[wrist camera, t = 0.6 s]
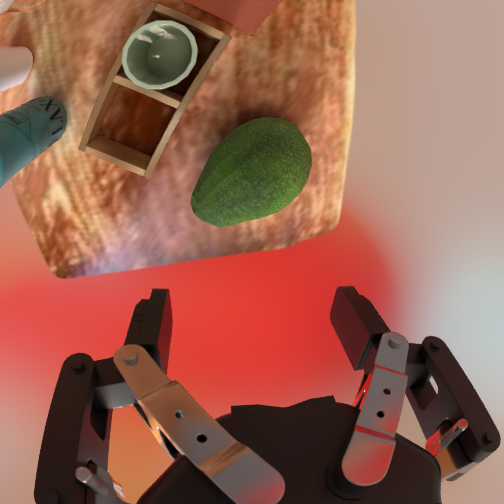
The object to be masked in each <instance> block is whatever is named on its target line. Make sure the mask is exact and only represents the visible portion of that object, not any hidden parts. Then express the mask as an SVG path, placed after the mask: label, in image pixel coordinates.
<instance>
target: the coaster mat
mask: <svg viewBox="0 0 504 504" xmlns="http://www.w3.org/2000/svg"><path fill="white" fill-rule="evenodd" d="M182 2H184V3H186V4H189V5H191V6H193V7H196V8H198V9H200V10H202V11H205V12H207V13H209V14H211V15H213V16H215V17H217V18H219V19H221V20H223V21H225V22H227V23H229V24H231V25H233V26H235V27H237V28H238V29H240V30H242V31H244V32H246V33H247V34H249V35H251V36H253V34H254V33H255V32H256V30H257V29H258V28H259V27H260V25H261V24H262V23H263V21H264V20H265V19H266V18H267V16H268V15H269V14H270V13H271V11H272V10H273V9H274V8H275V6H276V5H277V4H278V3H279V2H280V0H182Z"/></svg>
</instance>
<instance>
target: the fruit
mask: <svg viewBox="0 0 504 504" xmlns="http://www.w3.org/2000/svg"><path fill="white" fill-rule="evenodd" d="M311 165H312V157H311V149H310V147H309V145H308V143H307V141H306V140H305V138H304V136H303V135H302V133H301V132H300V130H299V129H298V127H297V126H295V125H294V124H292V123H290V122H289V121H287V120H285V119H283V118H275V117H263V118H258V119H253V120H250V121H248V122H246V123H244V124H242V125H240V126H238V127H237V128H236V129H234V130H233V131H232V132H231V133H229V134H228V135H227V136H225V137H224V138H223V139H222V140H221V142H220V143H219V144H218V145H217V147H216V148H215V149H214V151H213V152H212V153H211V155H210V157H209V159H208V161H207V163H206V165H205V167H204V169H203V171H202V173H201V175H200V177H199V180H198V182H197V185H196V187H195V189H194V191H193V193H192V197H191V206H192V209H193V213H194V214H195V215H196V216H197V217H198V218H199V219H200V220H201V221H204V222H207V223H209V224H212V225H214V226H217V227H224V226H230V225H234V224H237V223H241V222H246V221H250V220H254V219H259V218H262V217H265V216H268V215H271V214H274V213H276V212H278V211H279V210H281V209H282V208H284V207H285V206H287V205H288V204H290V203H291V202H292V201H293V200H294V199H295V198H296V197H297V196H298V195H299V194H300V193H301V191H302V189H303V187H304V186H305V184H306V182H307V180H308V178H309V173H310V169H311Z"/></svg>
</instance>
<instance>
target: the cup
mask: <svg viewBox="0 0 504 504" xmlns="http://www.w3.org/2000/svg"><path fill="white" fill-rule="evenodd" d="M198 53H199V51H198V47H197V44H196V40H195V37H194V35H193V34H192V33H191V32H190V31H189V30H188V29H187V28H186V27H185V26H184V25H181V24H179V23H177V22H174V21H167V20H157V21H154V22H151V23H148V24H146V25H143V26H141V27H140V28H139V29H138V30H137V31H135V32H134V33H133V34H132V35H131V36H130V37H129V39H128V41H127V43H126V44H125V46H124V48H123V55H122V64H123V67H124V71H125V74H126V75H127V76H128V77H129V78H130V79H131V80H132V81H133V83H135V84H136V85H139V86H141V87H144V88H146V89H164V88H167V87H170V86H173V85H176V84H177V83H179V82H180V81H181V80H182V79H184V78H185V77H186V76H188V74H189V73H190V72H191V71H192V69H193V68H194V66H195V64H196V63H197V59H198Z"/></svg>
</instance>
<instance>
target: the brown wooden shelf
mask: <svg viewBox="0 0 504 504" xmlns="http://www.w3.org/2000/svg"><path fill="white" fill-rule="evenodd" d="M159 16H161V17H164V18H166V19H169V20H171V21H174V22H177V23H179V24H181V25H184V26H185V27H187V28H190V29H192V30H194V31H196V32H198V33H200V34H203V35H205V36H207V37H209V38H211V39H213V40H215V41H217V42H218V43H217V44H216V46H215V47H214V49H213V50H212V52H211V53H210V55H209V56H208V58H207V59H206V61H205V62H204V64H203V65H202V67H201V69H200V70H199V72H198V73H197V75H196V76H195V78H194V80H193V81H192V83H191V85H190V86H189V88H188V90H187V91H186V93H185V95H184V96H181V95H179V94H177V93H175V92H172V91H170V90H168V89H166V88H164V89H146V88H144V87H141V86H139V85H136V84H135V83H133V81H132V80H131V79H130V78H129V77H128V76H127V75H126V74H125V71H124V67H123V64H122V55H123V48H124V46H125V44H126V43H127V41H128V39H129V37H130V36H131V35H132V34H133V33H134V32H135V31H137V30H138V29H139V28H140V27H141V26H143V25H146V24H148V23H151V22H154V21H156V20H157V19H158V17H159ZM129 37H128V39H127V40H126V42H125V44H124V46H123V47H122V49H121V51H120V53H119V55H118V57H117V59H116V61H115V62H114V64H113V66H112V68H111V70H110V72H109V75H108V77H107V79H106V81H105V83H104V85H103V87H102V90H101V92H100V94H99V96H98V99H97V101H96V103H95V106H94V108H93V111H92V113H91V116H90V118H89V121H88V123H87V126H86V129H85V131H84V134H83V137H82V140H81V143H80V146H79V150H81V151H83V152H84V151H85V152H86V153H88V154H91V155H93V156H96V157H98V158H101V159H103V160H106V161H108V162H111V163H113V164H115V165H118V166H120V167H123V168H125V169H128V170H130V171H132V172H135V173H137V174H139V175H142V176H144V177H146V178H149V179H150V177H151V175H152V173H153V171H154V168H155V166H156V164H157V162H158V160H159V158H160V156H161V154H162V152H163V150H164V148H165V146H166V145H167V143H168V141H169V139H170V137H171V135H172V133H173V131H174V129H175V128H176V126H177V124H178V122H179V120H180V119H181V117H182V115H183V113H184V112H185V110H186V108H187V106H188V105H189V103H190V101H191V100H192V98H193V96H194V94H195V93H196V91H197V90H198V88H199V86H200V85H201V83H202V81H203V80H204V78H205V77H206V75H207V74H208V72H209V70H210V69H211V67H212V66H213V64H214V63H215V61H216V60H217V58H218V57H219V55H220V54H221V52H222V51H223V50H224V48H225V47H226V45H227V44H228V42H229V41H230V40H231V38H232V37H231V36H229V35H227V34H225V33H223V32H221V31H219V30H217V29H215V28H213V27H211V26H209V25H207V24H205V23H203V22H201V21H199V20H196V19H194V18H192V17H190V16H187V15H185V14H183V13H180V12H178V11H176V10H173V9H171V8H168V7H166V6H163V5H160V4H157V3H155V2H152V1H151V2H150V3H149V5H148V6H147V8H146V9H145V11H144V12H143V14H142V16H141V17H140V19H139V20H138V22H137V23H136V25H135V27H134V28H133V30H132V32H131V33H130V35H129ZM120 85H123V86H125V87H128V88H130V89H133V90H135V91H138V92H140V93H142V94H145V95H147V96H149V97H152V98H154V99H156V100H159V101H161V102H163V103H165V104H168V105H170V106H172V107H174V108H176V110H175V112H174V114H173V116H172V118H171V120H170V121H169V123H168V125H167V127H166V129H165V131H164V133H163V135H162V137H161V139H160V141H159V143H158V145H157V147H156V149H155V151H154V153H153V155H152V157H151V156H149V155H147V154H144V153H142V152H140V151H137V150H135V149H132V148H130V147H128V146H125V145H123V144H121V143H118V142H116V141H113V140H111V139H108V138H106V137H103V136H101V135H98V134H99V132H100V129H101V126H102V124H103V122H104V119H105V117H106V114H107V112H108V110H109V107H110V105H111V103H112V101H113V99H114V96H115V94H116V92H117V90H118V88H119V86H120Z"/></svg>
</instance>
